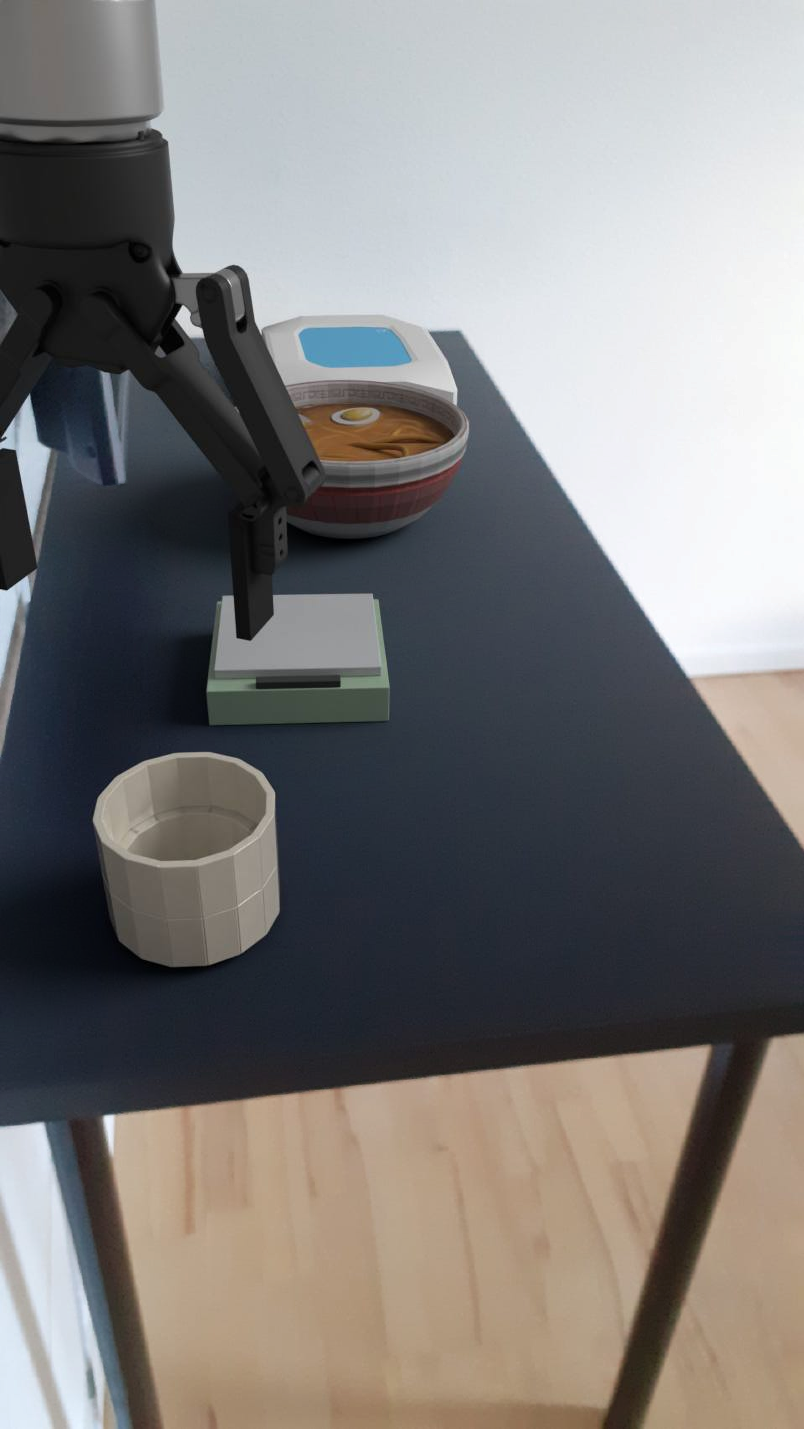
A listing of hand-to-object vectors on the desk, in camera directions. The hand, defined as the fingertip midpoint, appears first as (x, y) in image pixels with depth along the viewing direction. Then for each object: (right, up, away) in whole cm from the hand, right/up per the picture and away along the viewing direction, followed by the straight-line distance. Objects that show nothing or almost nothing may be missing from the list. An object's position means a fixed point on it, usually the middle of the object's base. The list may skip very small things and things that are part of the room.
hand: (132, 602), depth 55 cm
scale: (+6, -3, +29) cm, 30 cm away
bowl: (+8, +14, +53) cm, 56 cm away
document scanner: (+7, +35, +83) cm, 90 cm away
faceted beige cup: (+2, -17, +8) cm, 19 cm away
